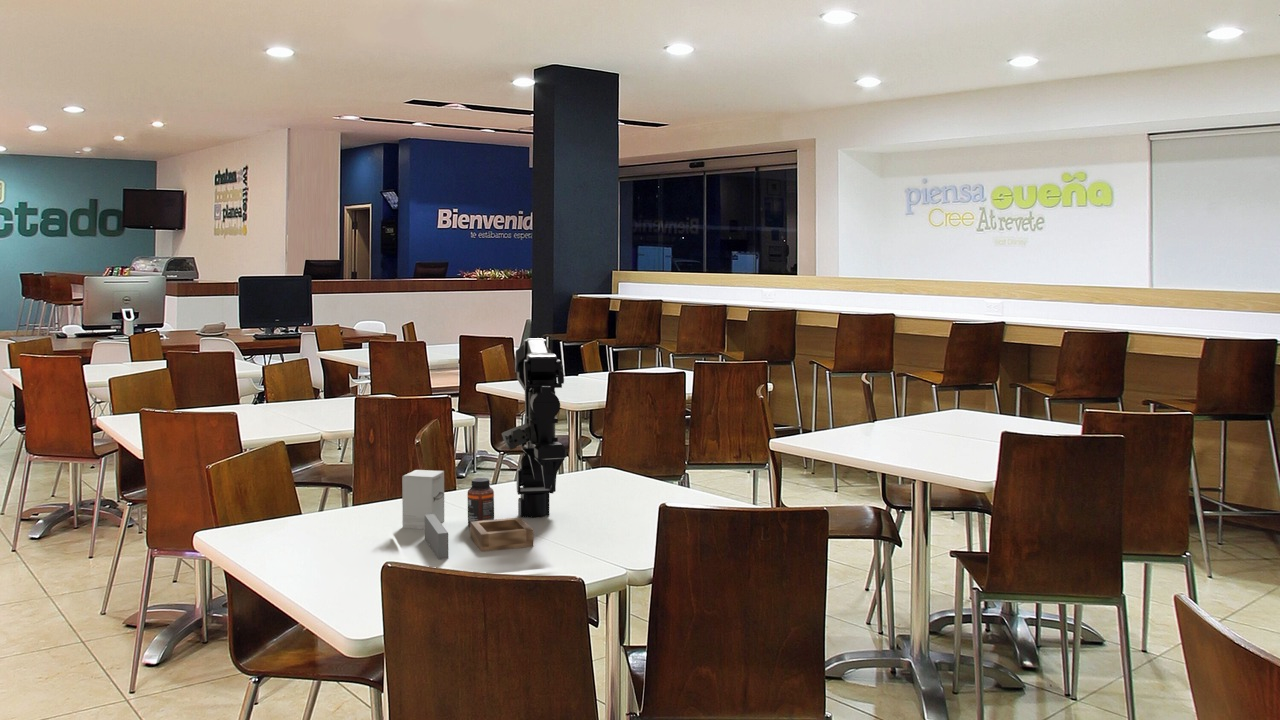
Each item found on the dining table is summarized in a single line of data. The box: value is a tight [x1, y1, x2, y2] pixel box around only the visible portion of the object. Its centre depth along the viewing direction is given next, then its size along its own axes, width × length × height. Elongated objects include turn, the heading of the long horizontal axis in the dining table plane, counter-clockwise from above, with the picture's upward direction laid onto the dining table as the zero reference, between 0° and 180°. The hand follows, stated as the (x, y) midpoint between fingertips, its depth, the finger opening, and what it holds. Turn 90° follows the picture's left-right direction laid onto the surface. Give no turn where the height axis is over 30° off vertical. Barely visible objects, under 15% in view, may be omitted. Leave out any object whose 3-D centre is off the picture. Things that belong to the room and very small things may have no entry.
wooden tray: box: [469, 516, 534, 552], centre depth 213 cm, size 11×11×4 cm
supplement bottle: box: [467, 477, 495, 528], centre depth 226 cm, size 6×6×11 cm
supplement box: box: [401, 469, 445, 530], centre depth 226 cm, size 7×7×13 cm
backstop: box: [424, 514, 449, 560], centre depth 211 cm, size 21×16×6 cm
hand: (542, 484), depth 217 cm, fingers open, 9 cm apart
